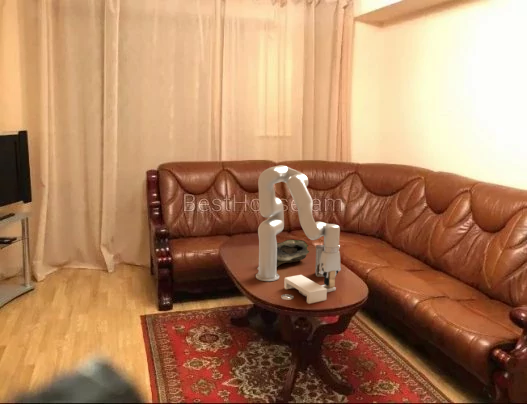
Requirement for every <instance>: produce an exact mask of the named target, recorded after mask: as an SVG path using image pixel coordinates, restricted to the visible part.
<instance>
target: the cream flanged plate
mask: <svg viewBox="0 0 527 404" xmlns="http://www.w3.org/2000/svg"><path fill="white" fill-rule="evenodd" d="M283 285H284V287H283V288H284V290H289V289H296V290H298V292H299V291H301V292H303V293H304V294H306V295H307V297H306V303H307V304H309V305H310V304H314V303H319V302H323V301H327V298H328V297H327V295H328V292H327V289H326V288H324V287H322V286H321V285H320V284H318V283H317V282H315V281H314V280H311V279H310V278H308V277H306V276H304V275H303V274H297V275H292V276H287V277H286V276H285V277H284V283H283Z"/></svg>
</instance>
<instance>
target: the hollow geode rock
mask: <svg viewBox="0 0 527 404" xmlns="http://www.w3.org/2000/svg"><path fill="white" fill-rule="evenodd" d="M308 247H309V245H308V243H307V241H305V240H302V239H298V240H297V239H294V238H291V239H287V240H284V241H282V242H277V267H279V266H281V265H283V264H285V263H286V264H288V263H293V262H300V261H302V260H304V259H306V257H307V255H308V254H309V252H310V250H308Z"/></svg>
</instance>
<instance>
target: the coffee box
mask: <svg viewBox="0 0 527 404" xmlns="http://www.w3.org/2000/svg"><path fill="white" fill-rule="evenodd" d="M322 251H324V244H319V245H318V244H316V246H315V272H314V273H315V276H316V277H323V278H324V276H323V275H322V274H320V273H319V271H320V269H319V267H320V258H321V254H322ZM323 272H324V270H323Z"/></svg>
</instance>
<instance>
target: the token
mask: <svg viewBox="0 0 527 404" xmlns="http://www.w3.org/2000/svg"><path fill="white" fill-rule="evenodd" d="M280 297H281V299H282V300H285V301H291V300H293V299H294V295H293V294H289V293H285V294H282V295H281V296H280Z"/></svg>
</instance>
